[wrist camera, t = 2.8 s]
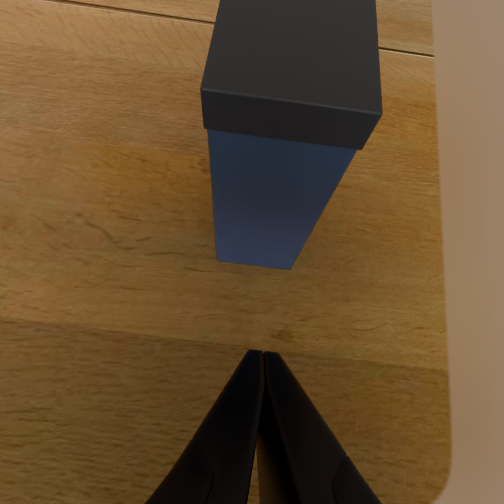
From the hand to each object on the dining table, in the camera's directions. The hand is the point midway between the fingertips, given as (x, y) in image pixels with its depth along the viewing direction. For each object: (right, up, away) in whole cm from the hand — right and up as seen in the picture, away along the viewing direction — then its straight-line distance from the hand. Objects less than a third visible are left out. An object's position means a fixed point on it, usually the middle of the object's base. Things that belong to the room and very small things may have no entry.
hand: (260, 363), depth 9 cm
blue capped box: (0, +4, +14) cm, 15 cm away
